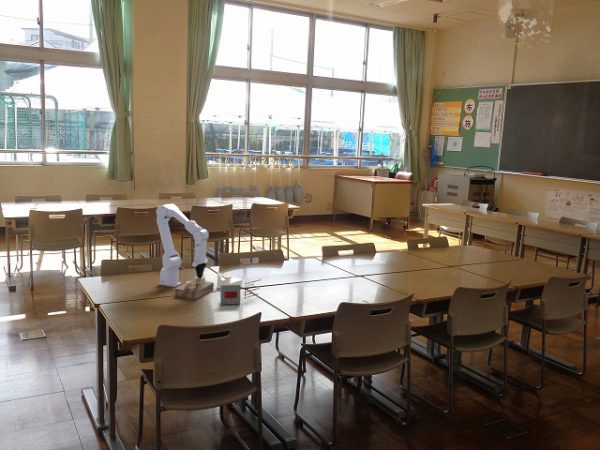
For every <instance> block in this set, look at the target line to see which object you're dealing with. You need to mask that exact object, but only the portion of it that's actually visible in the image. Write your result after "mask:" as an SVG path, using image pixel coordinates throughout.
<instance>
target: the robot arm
mask: <svg viewBox="0 0 600 450" xmlns="http://www.w3.org/2000/svg"><path fill="white" fill-rule="evenodd" d="M155 213H156V224H157V228H158V232H159V234H160V239H161V243H162V248H163V251H164V252H163V254H162V257H161V258H162V261H161V262H162V266H163V267H162V268H161V269H160V273H159V283H158V285H160V286H166V287H173V288H174V287H178V286H179V285H182V282H179V277H180V276H179V274H180V273H179V269H180V266H181V265H182V263H183V261H182V258H181V256H180V254H179V252H178V251H177V250H176V249H175V246H174V241H173V238H172V233H171V231H170V229H171V228H170V226H169V220H170V219H171V218H175V219H176V220H177V221H178V222H180V223H181V224H183V225H184V229H185V230H186V231H188V233H190V234H191V235H192V236H193V240H194V245H195V247H194V249H195V250H194V260H193V262H192V263H191V265H192V268H193V267H194V270H195V271H196V272H195V273H196V277H199V278H201V277H203V276H204V271H205V268H206V267H207V263H208V262H209V259H208V257H207V240H208V239H209V238H210V237H209V236H210V234H209V231H208V230H207V229H206V228H203V227H202V226H200V225H198V224H197V222H196V221H195V220H191V219H190V220H189V219H188V217H186V215H185V214H183V212H182V211H181V210H179V207H178V206H176V205H175V203H169V204H160V205H158V207H157V208H156V210H155Z"/></svg>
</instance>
